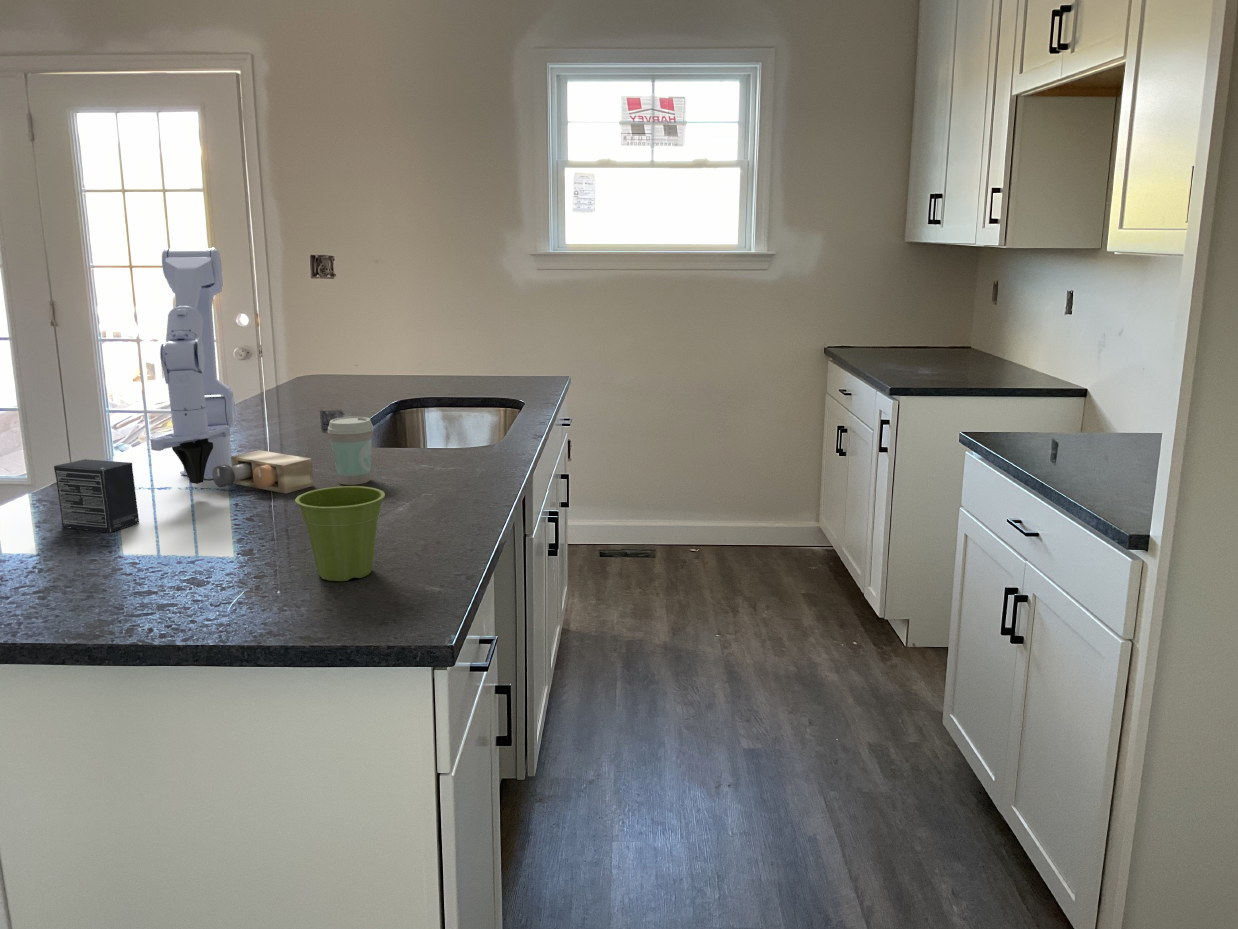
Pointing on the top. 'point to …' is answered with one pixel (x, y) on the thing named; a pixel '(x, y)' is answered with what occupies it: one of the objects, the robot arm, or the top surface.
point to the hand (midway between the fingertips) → (196, 482)
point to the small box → (97, 495)
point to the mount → (278, 470)
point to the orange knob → (265, 476)
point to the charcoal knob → (231, 474)
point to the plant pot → (342, 529)
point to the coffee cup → (351, 448)
